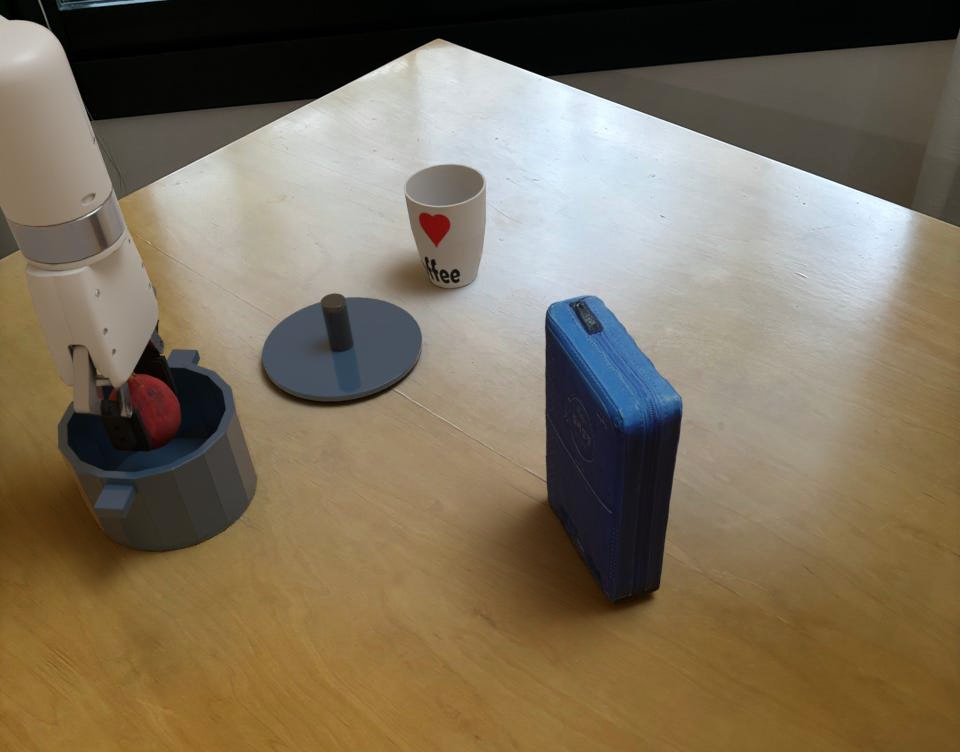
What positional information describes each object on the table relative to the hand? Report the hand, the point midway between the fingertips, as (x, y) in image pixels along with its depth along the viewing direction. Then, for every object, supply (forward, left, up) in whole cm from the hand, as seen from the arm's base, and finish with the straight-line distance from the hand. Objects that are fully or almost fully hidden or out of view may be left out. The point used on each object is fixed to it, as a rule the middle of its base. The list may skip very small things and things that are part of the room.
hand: (146, 419), depth 89 cm
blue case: (+38, -4, -8) cm, 39 cm away
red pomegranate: (0, 0, -3) cm, 3 cm away
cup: (+20, +34, -8) cm, 40 cm away
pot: (0, 0, -8) cm, 8 cm away
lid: (+11, +20, -8) cm, 24 cm away
